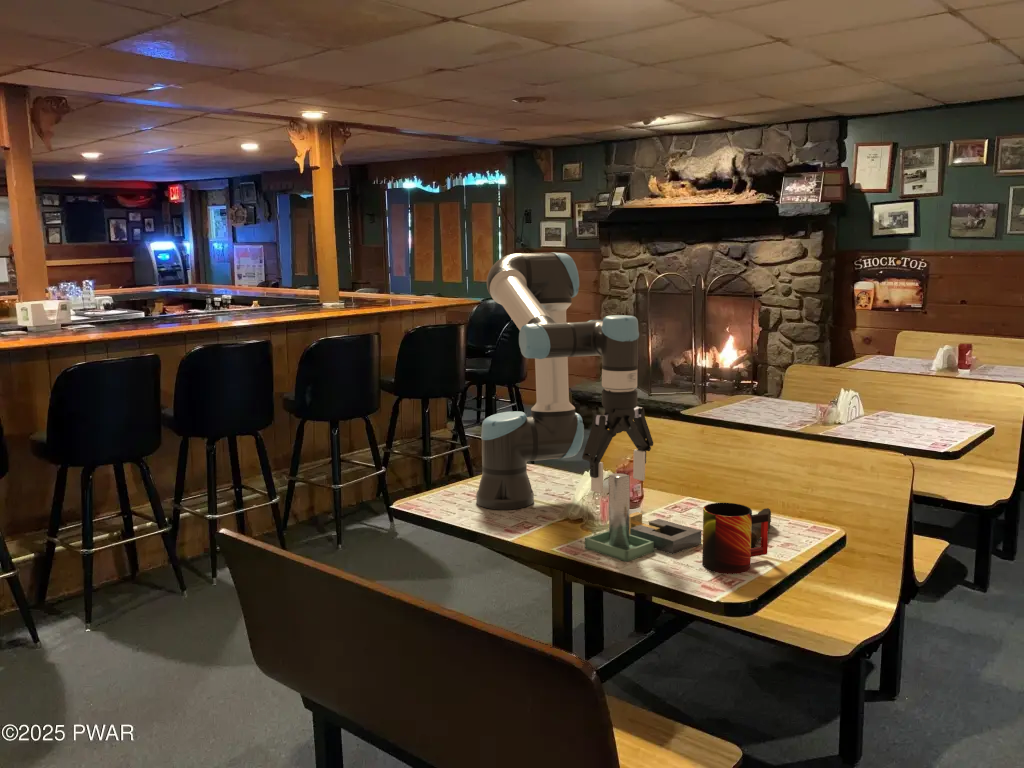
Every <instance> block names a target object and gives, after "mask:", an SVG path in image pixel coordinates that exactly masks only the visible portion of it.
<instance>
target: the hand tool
mask: <svg viewBox="0 0 1024 768" xmlns="http://www.w3.org/2000/svg"><path fill="white" fill-rule="evenodd" d="M761 513H767V514H768V532H769V531H770V528H771V522H772V511H771V509H770V508H762V509H761V510H760V511H759V512H757V514H761ZM759 540H761V523H755V524H752V527H751V548H756V546H757V544H758V541H759Z"/></svg>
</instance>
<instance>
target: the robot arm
mask: <svg viewBox="0 0 1024 768" xmlns="http://www.w3.org/2000/svg"><path fill="white" fill-rule="evenodd" d="M579 276H580V275H579V271H578V268H577V265H576V262H575V260H574V259H573V257H572V256H570V254H567V253H564V252H531V253H529V252H528V253H527V252H526V253H521V252H519V253H510V254H507V255H505V256H502V257H500V258H499V259H498V260H497V261H496V262H495V263H494V264H493V265H492V266H491V268H490V269H489V271H488V274H487V277H486V288H487V292H488V293H489V295H490V297H491V298H492V300H493V301H494V302H495V303H496V304H499V305H501V306H502V307H503V309H504V310H505V312H506V313H507V314H508V316H509V317H510V319H511V320H512V321H513V323H514V324H515V325H516V328H518V330H519V333H518V345H519V348H520V352H521V355H522V356H523V357H524V358H526V359H534V366H535V368H534V369H535V370H534V371H535V392H536V393H535V394H536V395H535V396H536V401H535V404H534V405H533V406H532V407H531V409H530V414H531V415H530V416H527V414H526V413H525V412H523V411H517V410H516V411H504V412H498V413H494V414H492V415H490V416H487V417H486V418H485V419H483V420H482V423H481V433H480V434H481V435H480V439H481V461H482V463H481V464H482V465H481V468H482V474H481V479H480V481H479V484H478V489H477V491H476V495H475V498H476V499H475V500H476V501H475V502H476V504H477V505H478V506H479V507H481V508H482V507H483V508H486V509H490V510H499V511H500V510H501V511H504V510H506V511H507V510H516V509H517V510H518V509H521V508H526V507H529V506H531V505H532V504H533V503H534V502H535V496H534V494H535V493H534V490H533V488H532V485H531V481H530V478H529V475H528V469H527V468H528V467H527V464H528V463H527V462H533V461H534V462H535V461H544V460H545V461H546V460H557V459H558V460H563V459H566V458H572V457H574V456H576V455H578V453H579V452H580V450H581V448H582V445H583V442H584V435H585V433H584V432H585V425H584V423H583V422H584V421H583V417H582V416H581V414H580V413H577V412H576V407H575V406H574V405H573V404H572V403H571V402H570V396H569V395H570V394H569V393H570V392H569V362H568V361H569V360H568V359H569V357H572V358H573V357H590V356H591V357H593V356H594V357H595V356H597V357H598V356H600V357H601V362H602V365H601V368H602V369H601V387H602V388H603V389H602V390H601V405H602V407H603V408H604V413H603V415H602V414H594V415H593V418H592V419H593V420H592V426H591V429H590V432H589V434H588V435H589V436H588V439H587V441H586V444H585V447H584V450H583V453H582V456H581V457H582V460H583V461H586V462H589V478H591V479H590V490H591V492H595V493H599V494H603V493H604V462H603V461H602V459H603V456H605V454H606V451H607V449H608V448H609V445H610V443H611V442H612V440H613V438H614V437H616V436H617V434H620V433H622V432H626V435H628V437H629V439H630V441H631V442H632V443H633V445H634V446H635V447H636V449H633V459H632V460H633V463H632V464H633V465H632V467H633V468H632V469H633V470H632V471H633V472H632V473H633V474H632V478H633V479H634V480H638V481H641V482H643V481H645V480H646V464H647V452H651V449H652V447H653V446H654V440H653V436H652V435H651V431H650V429H649V426H648V423H647V420H646V416H645V415H646V414H645V408H644V407H641V406H638V391H637V389H636V388H638V368H639V367H638V366H639V338H640V332H639V321H638V318H637V317H636V316H634V315H625V314H624V315H623V314H615V315H614V314H613V315H607V316H604V317H603V318H602V319H590V320H588V321H578V322H577V321H576V322H567V309H569V307H570V306H571V305H572V299H573V298H576V297H577V295H578V294H579V288H580V277H579Z"/></svg>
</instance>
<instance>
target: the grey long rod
mask: <svg viewBox="0 0 1024 768" xmlns="http://www.w3.org/2000/svg"><path fill="white" fill-rule="evenodd" d="M629 514H630V475H629V474H626V473H611V474H610V475H608V530H609V545H611V546H614V547H617V548H620V549H623V550H628V549H629V534H630V533H629Z"/></svg>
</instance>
